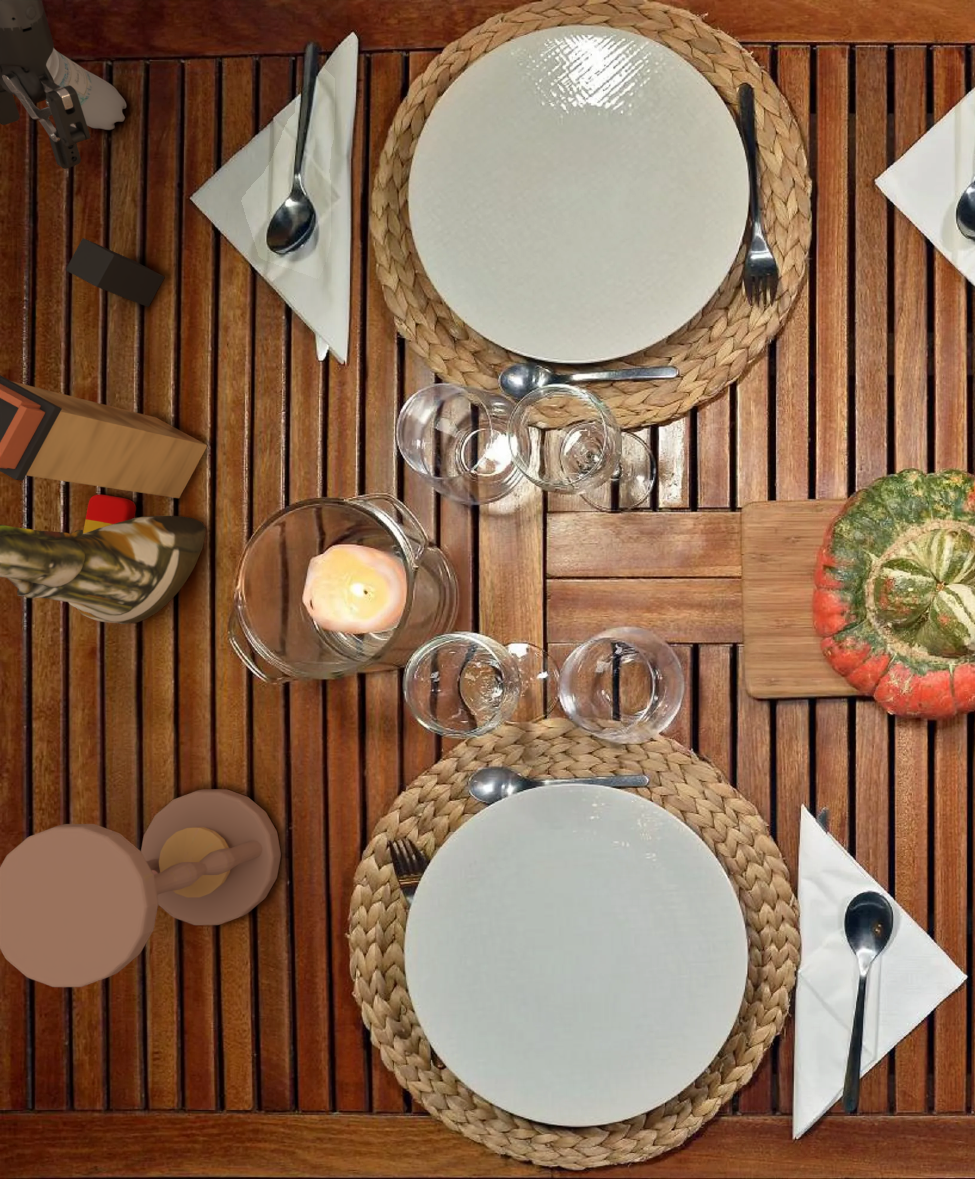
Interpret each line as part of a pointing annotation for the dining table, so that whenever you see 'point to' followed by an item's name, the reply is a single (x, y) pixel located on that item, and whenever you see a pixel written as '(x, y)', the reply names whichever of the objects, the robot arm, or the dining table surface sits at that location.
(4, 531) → the statue
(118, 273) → the post
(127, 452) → the stand
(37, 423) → the base pad
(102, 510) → the popsicle
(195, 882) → the hourglass
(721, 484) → the dining table surface
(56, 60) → the bottle
